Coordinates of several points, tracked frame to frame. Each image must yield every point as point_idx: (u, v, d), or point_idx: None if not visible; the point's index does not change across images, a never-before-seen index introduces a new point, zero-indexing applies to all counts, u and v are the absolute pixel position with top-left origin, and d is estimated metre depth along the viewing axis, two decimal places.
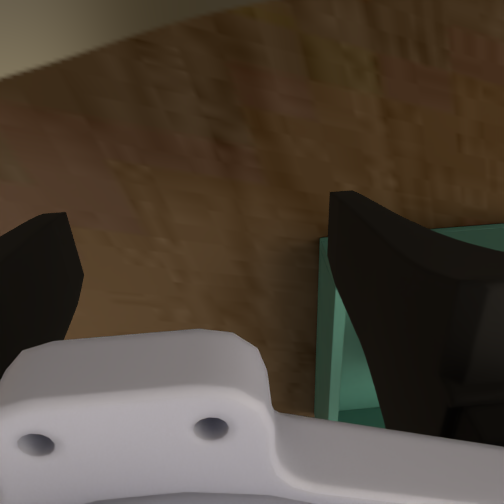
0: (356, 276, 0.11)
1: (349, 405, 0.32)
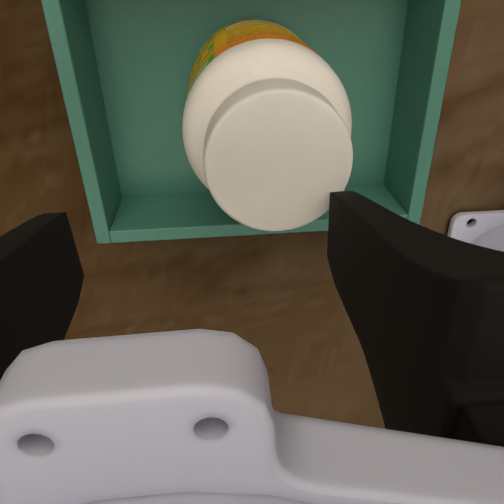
0: (356, 276, 0.11)
1: (379, 149, 0.23)
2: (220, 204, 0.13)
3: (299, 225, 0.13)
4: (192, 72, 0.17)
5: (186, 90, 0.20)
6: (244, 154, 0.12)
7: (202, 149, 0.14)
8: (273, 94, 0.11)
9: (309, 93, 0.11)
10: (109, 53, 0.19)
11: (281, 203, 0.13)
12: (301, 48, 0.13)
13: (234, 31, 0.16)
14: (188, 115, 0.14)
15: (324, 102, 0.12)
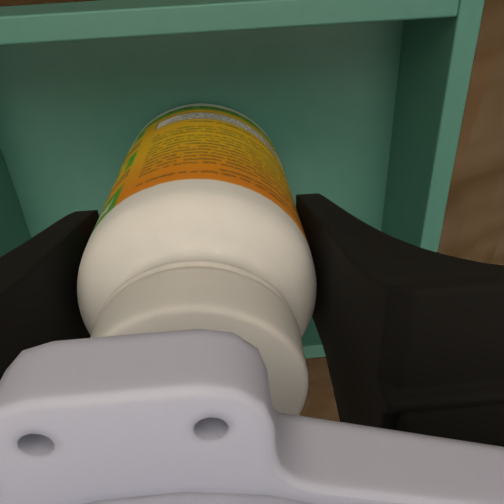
0: (317, 279, 0.11)
1: None
2: None
3: None
4: None
5: None
6: None
7: None
8: (173, 313, 0.07)
9: (231, 307, 0.07)
10: (19, 149, 0.15)
11: None
12: (235, 196, 0.09)
13: (161, 140, 0.12)
14: (79, 288, 0.10)
15: (256, 318, 0.07)
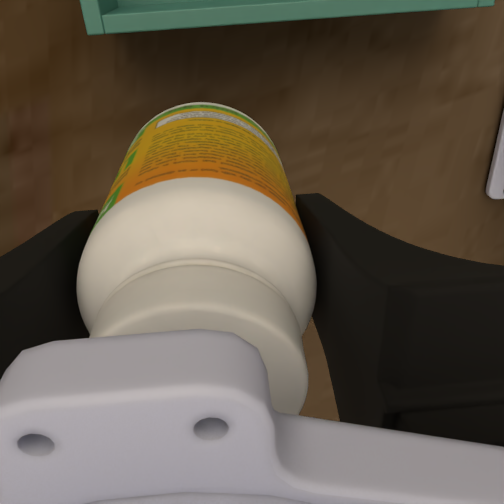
0: (317, 279, 0.11)
1: None
2: None
3: None
4: None
5: None
6: None
7: None
8: (172, 312, 0.07)
9: (230, 305, 0.07)
10: None
11: None
12: (235, 195, 0.09)
13: (160, 139, 0.12)
14: (79, 286, 0.10)
15: (255, 316, 0.07)
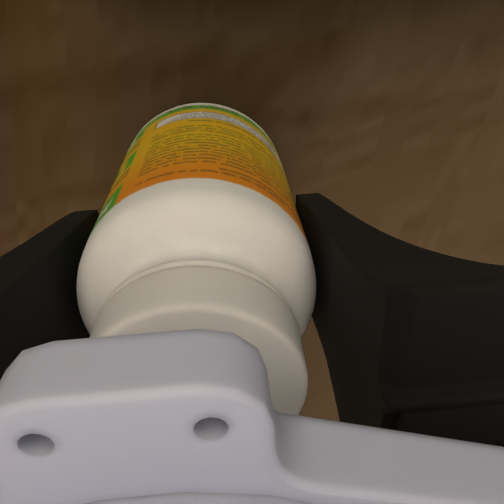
0: (317, 279, 0.11)
1: None
2: None
3: None
4: None
5: None
6: None
7: None
8: (172, 313, 0.07)
9: (230, 306, 0.07)
10: None
11: None
12: (235, 195, 0.09)
13: (160, 139, 0.12)
14: (79, 287, 0.10)
15: (255, 317, 0.07)
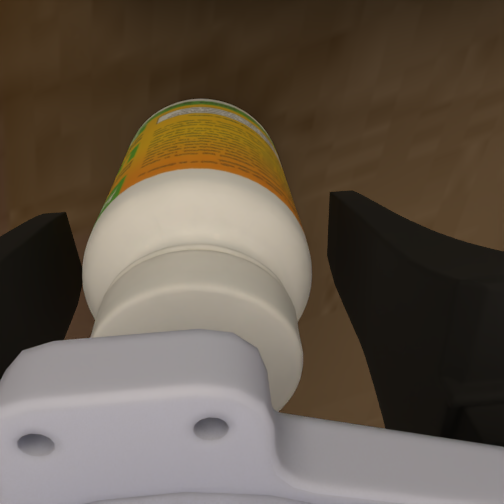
0: (356, 276, 0.11)
1: None
2: None
3: None
4: None
5: None
6: None
7: None
8: (175, 292, 0.08)
9: (229, 286, 0.08)
10: None
11: None
12: (233, 185, 0.10)
13: (162, 133, 0.12)
14: (85, 273, 0.10)
15: (253, 296, 0.08)
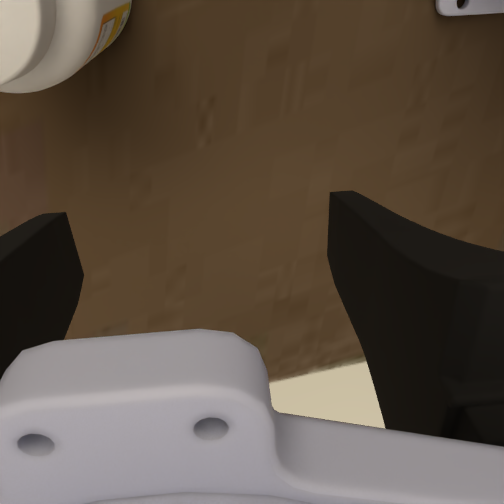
0: (356, 276, 0.11)
1: None
2: None
3: None
4: None
5: None
6: None
7: None
8: None
9: None
10: None
11: None
12: None
13: None
14: None
15: None
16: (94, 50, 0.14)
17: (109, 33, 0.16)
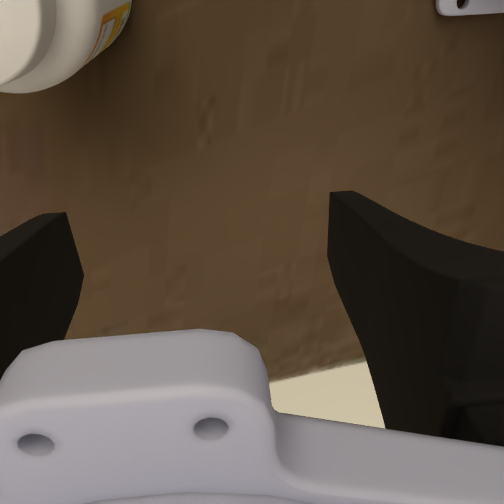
0: (356, 276, 0.11)
1: None
2: None
3: (0, 81, 0.11)
4: None
5: None
6: None
7: None
8: None
9: None
10: None
11: None
12: None
13: None
14: None
15: None
16: (94, 50, 0.14)
17: (109, 33, 0.16)
